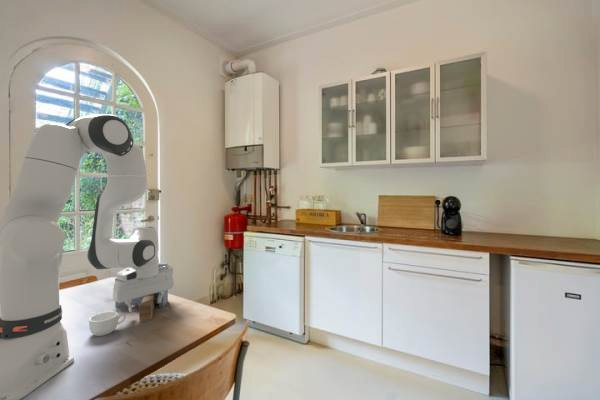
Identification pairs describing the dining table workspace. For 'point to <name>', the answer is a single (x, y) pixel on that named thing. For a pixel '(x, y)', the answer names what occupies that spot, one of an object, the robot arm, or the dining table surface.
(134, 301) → the stepped grey building model
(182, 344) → the dining table surface
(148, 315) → the wooden block
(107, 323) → the teacup
